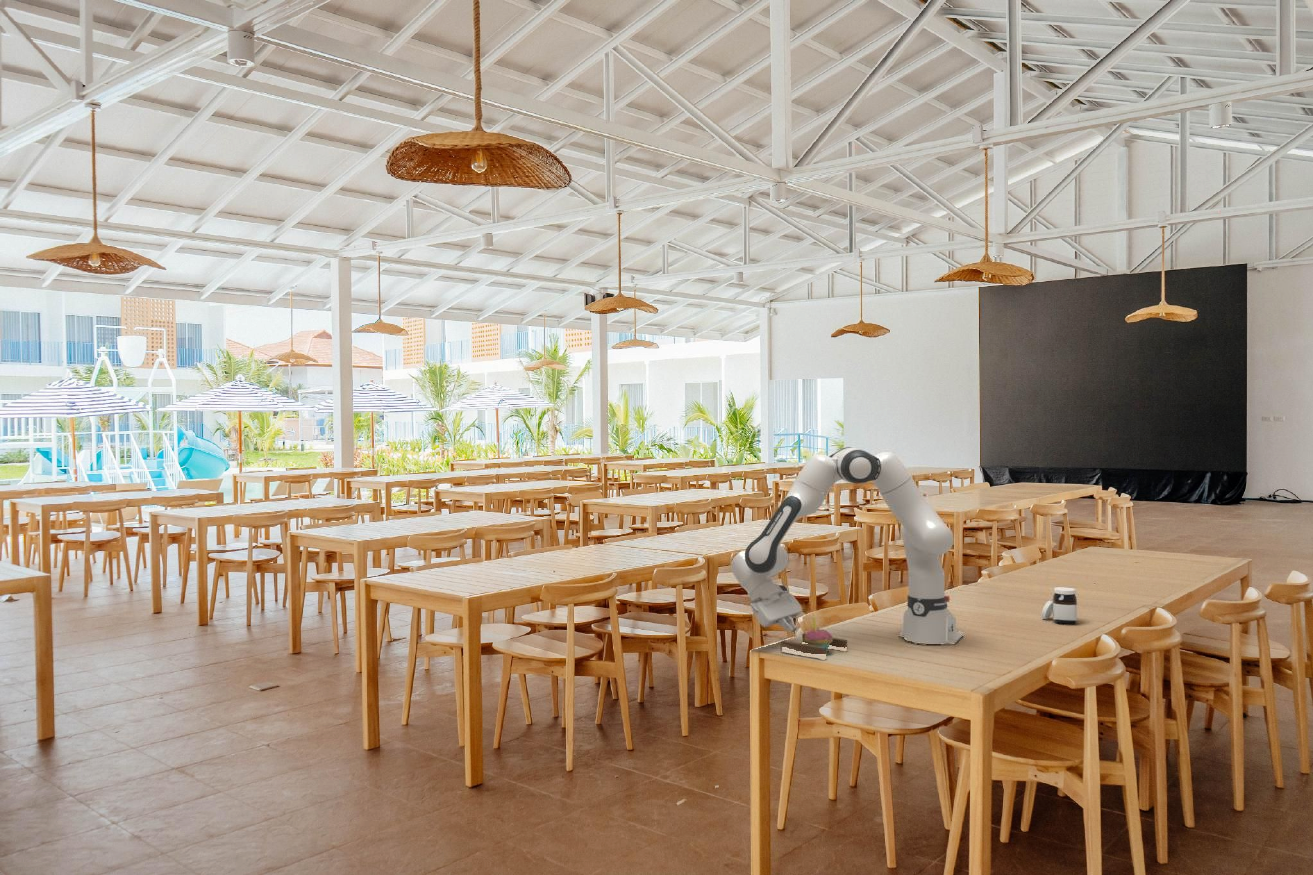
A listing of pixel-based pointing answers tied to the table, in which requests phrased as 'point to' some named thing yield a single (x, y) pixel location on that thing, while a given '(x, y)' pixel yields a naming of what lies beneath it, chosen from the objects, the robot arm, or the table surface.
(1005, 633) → the table surface
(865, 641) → the table surface
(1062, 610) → the spread jar
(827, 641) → the cupcake
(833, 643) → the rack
